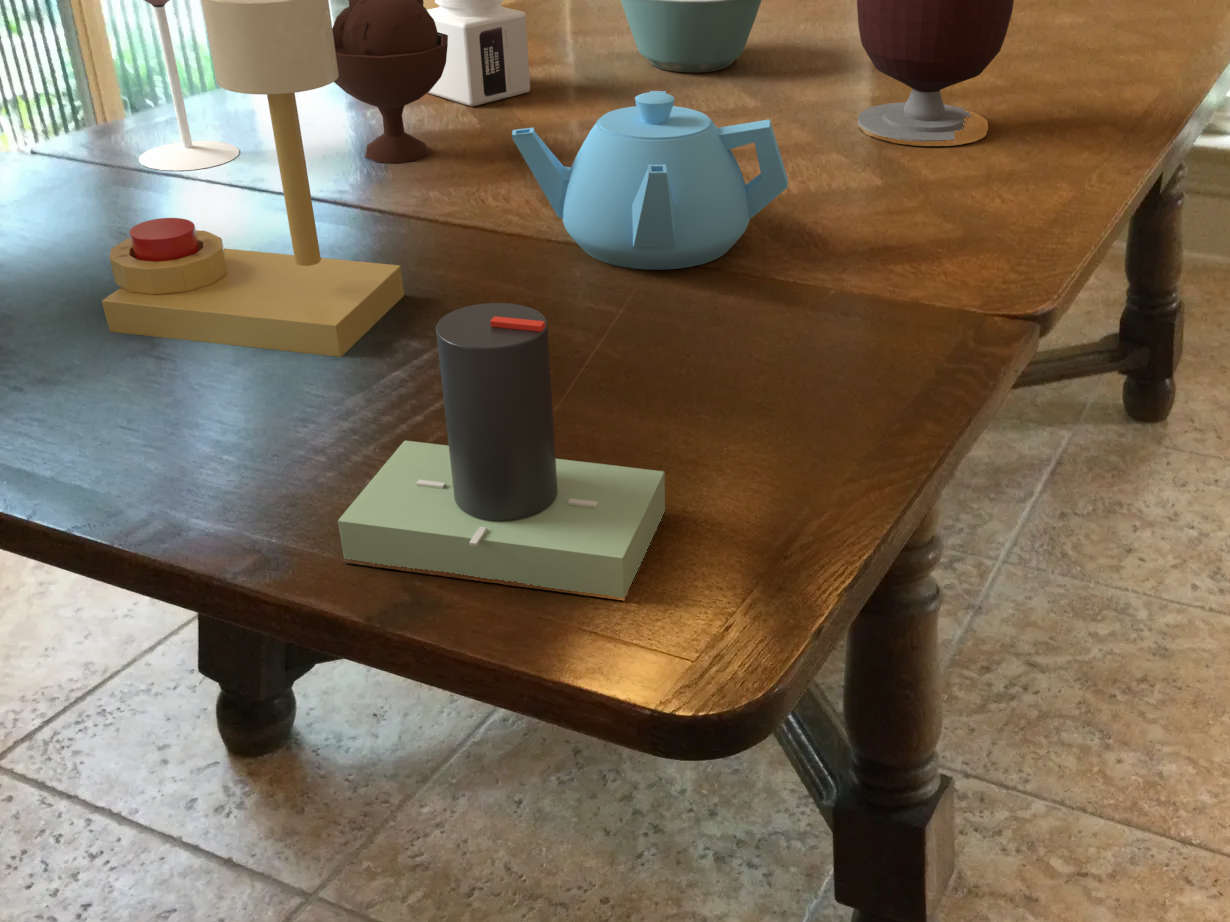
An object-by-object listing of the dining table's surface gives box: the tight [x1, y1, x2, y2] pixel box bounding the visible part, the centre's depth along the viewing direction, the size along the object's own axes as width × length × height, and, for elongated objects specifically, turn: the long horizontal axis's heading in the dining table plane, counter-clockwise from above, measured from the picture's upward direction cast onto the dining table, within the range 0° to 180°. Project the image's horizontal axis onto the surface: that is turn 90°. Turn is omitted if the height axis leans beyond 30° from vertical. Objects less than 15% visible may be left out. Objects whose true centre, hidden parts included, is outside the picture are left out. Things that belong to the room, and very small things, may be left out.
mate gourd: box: [856, 0, 1015, 142], centre depth 121 cm, size 16×14×20 cm
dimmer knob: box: [435, 302, 558, 521], centre depth 63 cm, size 5×5×9 cm
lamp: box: [200, 0, 339, 266], centre depth 82 cm, size 7×7×16 cm
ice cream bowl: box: [332, 0, 448, 164], centre depth 114 cm, size 11×11×15 cm
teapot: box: [511, 90, 789, 271], centre depth 98 cm, size 15×15×11 cm
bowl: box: [620, 0, 762, 74], centre depth 143 cm, size 16×16×8 cm
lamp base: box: [101, 229, 405, 358], centre depth 88 cm, size 18×10×4 cm, turn 78°
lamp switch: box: [129, 217, 200, 262], centre depth 88 cm, size 4×4×2 cm
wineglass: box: [138, 0, 240, 172], centre depth 111 cm, size 9×10×22 cm
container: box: [426, 0, 531, 107], centre depth 131 cm, size 8×8×13 cm
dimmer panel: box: [337, 440, 666, 598], centre depth 66 cm, size 14×9×3 cm, turn 78°
